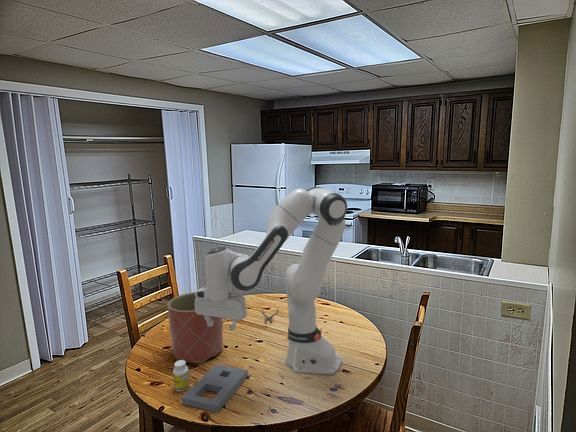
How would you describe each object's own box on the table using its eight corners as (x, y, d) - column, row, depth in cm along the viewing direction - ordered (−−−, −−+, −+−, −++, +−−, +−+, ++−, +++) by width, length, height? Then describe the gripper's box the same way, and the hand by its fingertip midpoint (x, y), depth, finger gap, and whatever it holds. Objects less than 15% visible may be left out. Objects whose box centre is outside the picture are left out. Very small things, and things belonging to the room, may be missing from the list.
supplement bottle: (171, 387, 134) (169, 363, 133) (185, 381, 138) (183, 357, 137) (178, 394, 131) (176, 368, 129) (192, 387, 134) (190, 362, 133)
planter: (203, 370, 145) (199, 314, 141) (160, 359, 154) (155, 306, 151) (234, 344, 165) (232, 294, 162) (194, 335, 175) (191, 288, 171)
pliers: (277, 306, 205) (283, 321, 186) (277, 308, 206) (283, 323, 186) (260, 308, 204) (265, 323, 184) (260, 310, 204) (265, 325, 184)
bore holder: (247, 375, 140) (247, 369, 140) (217, 413, 120) (217, 406, 120) (216, 369, 145) (215, 363, 145) (182, 404, 125) (181, 397, 125)
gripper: (248, 291, 132) (250, 327, 134) (200, 286, 139) (203, 320, 141) (240, 297, 126) (242, 335, 128) (190, 292, 133) (193, 327, 135)
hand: (221, 327), depth 135 cm, fingers open, 8 cm apart
